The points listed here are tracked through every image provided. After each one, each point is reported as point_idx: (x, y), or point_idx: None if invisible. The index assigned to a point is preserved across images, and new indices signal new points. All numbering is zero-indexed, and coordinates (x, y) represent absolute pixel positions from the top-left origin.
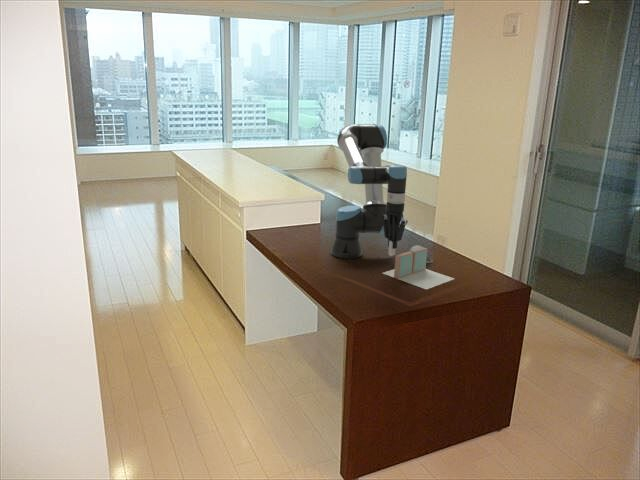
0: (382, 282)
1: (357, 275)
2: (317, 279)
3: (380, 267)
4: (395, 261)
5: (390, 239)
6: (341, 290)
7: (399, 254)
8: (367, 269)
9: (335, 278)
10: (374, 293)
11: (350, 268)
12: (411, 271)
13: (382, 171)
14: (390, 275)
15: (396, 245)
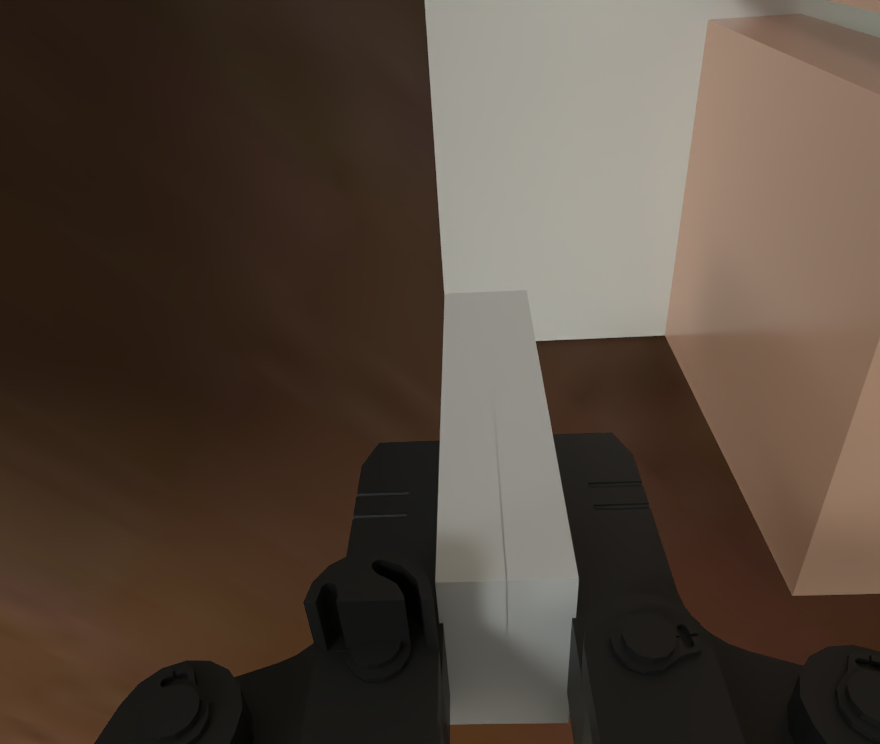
0: None
1: (296, 508)
2: None
3: (164, 101)
4: (751, 497)
5: (449, 737)
6: (501, 736)
7: (835, 518)
8: (170, 314)
9: (269, 658)
10: (720, 638)
11: (65, 440)
12: (824, 25)
13: None
14: (583, 318)
15: (642, 512)
